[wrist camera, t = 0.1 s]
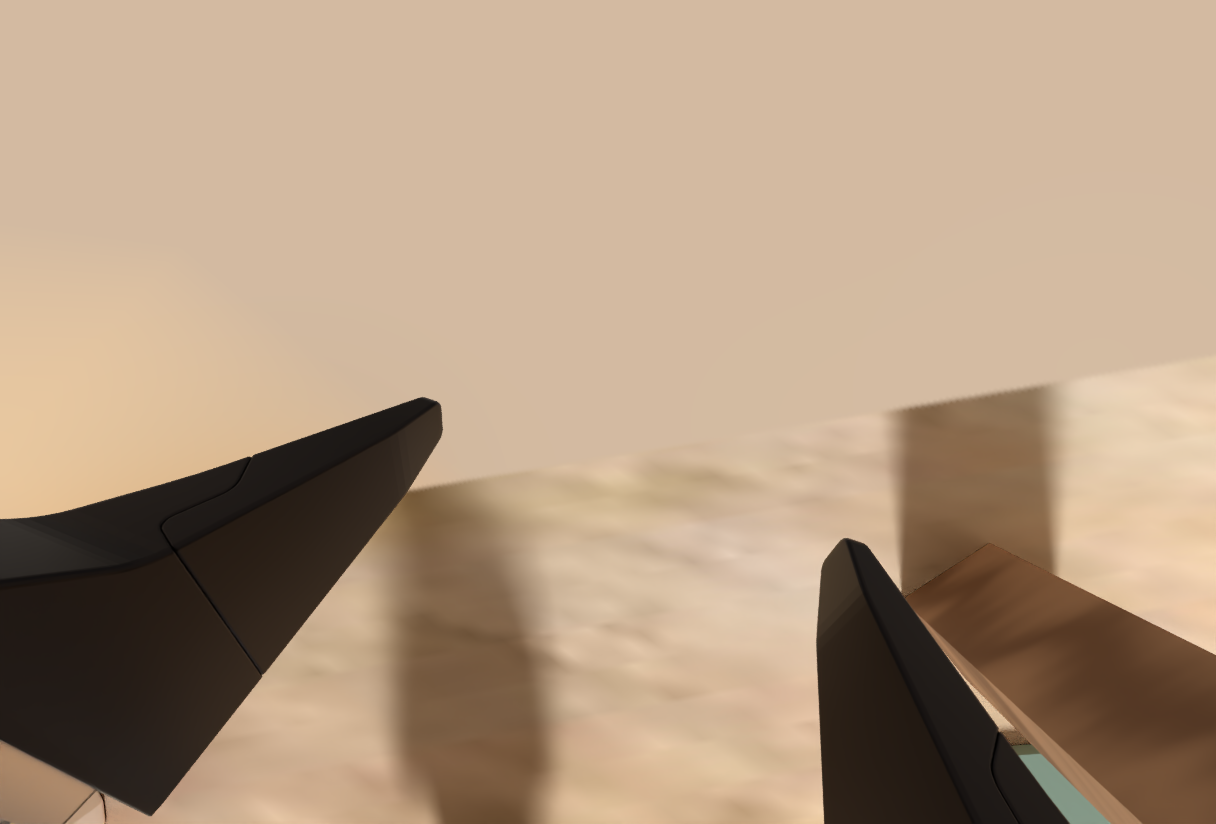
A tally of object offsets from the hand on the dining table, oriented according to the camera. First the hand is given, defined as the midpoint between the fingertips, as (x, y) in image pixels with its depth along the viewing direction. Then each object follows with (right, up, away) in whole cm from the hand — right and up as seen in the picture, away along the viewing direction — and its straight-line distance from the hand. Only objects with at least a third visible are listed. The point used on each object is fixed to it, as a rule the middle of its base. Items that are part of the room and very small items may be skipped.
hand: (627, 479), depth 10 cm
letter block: (+18, -9, +13) cm, 24 cm away
